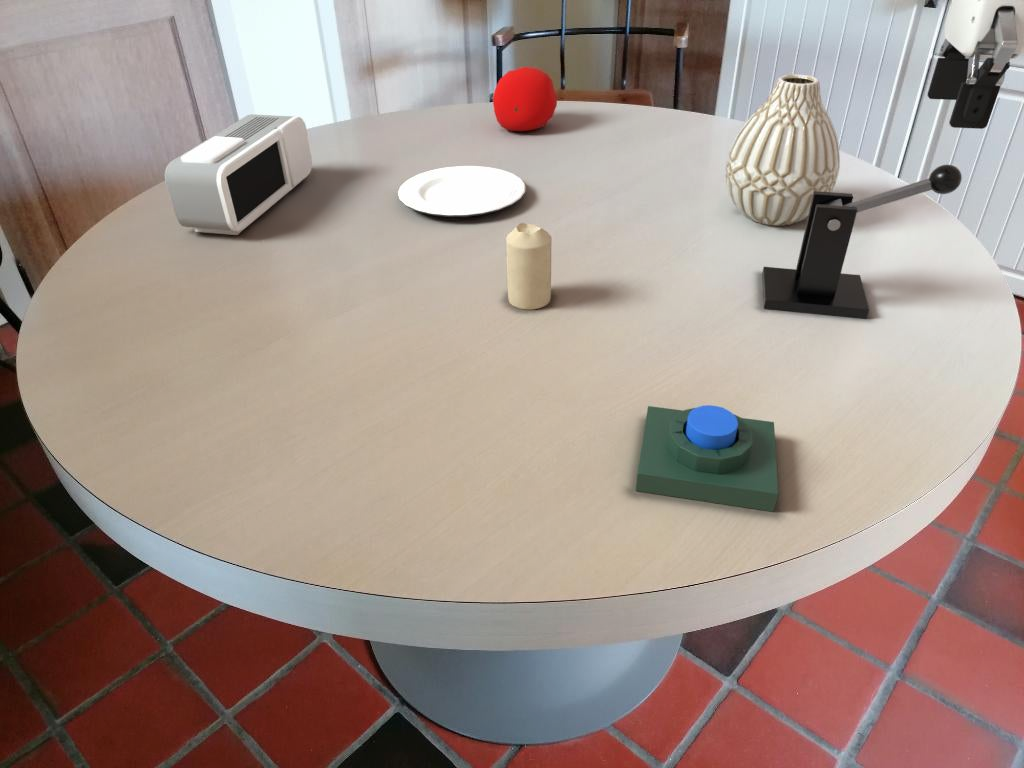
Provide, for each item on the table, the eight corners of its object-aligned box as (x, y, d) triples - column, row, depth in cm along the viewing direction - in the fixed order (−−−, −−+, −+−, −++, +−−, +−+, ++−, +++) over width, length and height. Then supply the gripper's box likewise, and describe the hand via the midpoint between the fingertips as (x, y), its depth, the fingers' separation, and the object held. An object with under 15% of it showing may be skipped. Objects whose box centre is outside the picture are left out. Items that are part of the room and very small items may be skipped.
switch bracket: (857, 283, 98) (884, 189, 90) (866, 318, 91) (896, 219, 83) (761, 275, 100) (780, 182, 93) (763, 308, 93) (783, 211, 86)
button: (735, 423, 70) (738, 408, 69) (735, 454, 66) (738, 438, 65) (687, 417, 71) (689, 402, 70) (684, 447, 67) (686, 432, 66)
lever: (960, 182, 85) (955, 156, 84) (966, 192, 83) (962, 166, 81) (821, 224, 92) (814, 201, 90) (823, 235, 89) (816, 212, 88)
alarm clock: (237, 243, 112) (217, 165, 105) (181, 239, 113) (158, 161, 106) (315, 177, 133) (303, 108, 126) (267, 173, 135) (252, 106, 128)
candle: (558, 295, 97) (560, 223, 91) (536, 314, 93) (536, 240, 87) (522, 285, 100) (521, 214, 94) (499, 303, 96) (497, 230, 90)
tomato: (519, 154, 149) (546, 136, 159) (553, 103, 140) (579, 86, 150) (470, 112, 149) (500, 96, 159) (501, 58, 140) (530, 45, 150)
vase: (850, 221, 113) (886, 83, 101) (771, 246, 107) (800, 102, 95) (772, 187, 125) (797, 59, 113) (697, 208, 119) (715, 75, 107)
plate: (533, 177, 130) (533, 167, 129) (516, 228, 114) (515, 216, 113) (416, 173, 133) (415, 163, 132) (383, 222, 117) (381, 211, 116)
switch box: (769, 439, 73) (777, 406, 71) (773, 512, 66) (782, 478, 63) (646, 422, 76) (649, 391, 73) (635, 491, 68) (638, 458, 66)
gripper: (1105, -79, 58) (1022, 142, 68) (1033, -96, 72) (972, 90, 82) (999, -79, 60) (933, 137, 70) (947, -95, 73) (898, 88, 83)
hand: (954, 112), depth 76 cm, fingers open, 9 cm apart
